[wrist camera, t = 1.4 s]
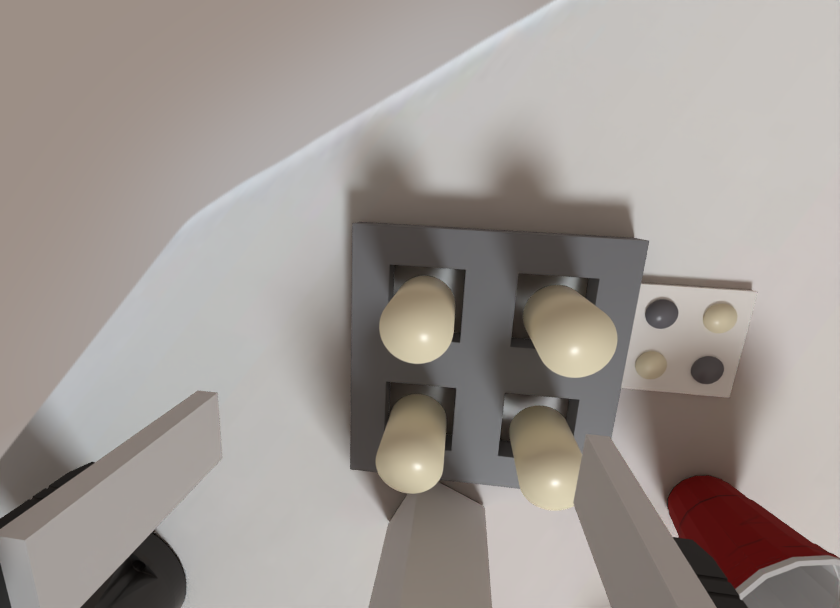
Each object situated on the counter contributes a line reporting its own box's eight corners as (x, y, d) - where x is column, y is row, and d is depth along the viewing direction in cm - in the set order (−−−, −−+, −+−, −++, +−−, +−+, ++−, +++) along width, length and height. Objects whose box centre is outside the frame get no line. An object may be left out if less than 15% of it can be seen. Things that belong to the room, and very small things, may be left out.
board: (357, 452, 39) (350, 469, 36) (360, 222, 33) (352, 223, 31) (590, 478, 37) (599, 497, 34) (634, 238, 31) (649, 240, 29)
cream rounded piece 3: (506, 454, 34) (515, 506, 28) (512, 402, 32) (523, 445, 27) (564, 460, 33) (585, 514, 27) (572, 408, 32) (596, 453, 26)
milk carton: (421, 471, 38) (382, 714, 20) (485, 505, 39) (505, 777, 20) (388, 522, 40) (325, 788, 22) (449, 555, 40) (438, 845, 22)
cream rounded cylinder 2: (389, 441, 35) (374, 489, 29) (391, 391, 33) (376, 430, 28) (444, 447, 34) (441, 497, 28) (448, 396, 33) (445, 437, 27)
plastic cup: (792, 513, 35) (952, 662, 24) (681, 568, 38) (777, 727, 26) (725, 425, 34) (860, 538, 23) (615, 487, 37) (686, 618, 25)
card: (614, 384, 34) (617, 388, 34) (633, 282, 32) (637, 284, 31) (724, 394, 34) (731, 399, 33) (752, 290, 31) (759, 292, 30)
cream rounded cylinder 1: (393, 332, 32) (378, 360, 26) (395, 273, 31) (380, 289, 25) (453, 337, 32) (450, 366, 26) (457, 277, 30) (456, 294, 25)
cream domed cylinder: (519, 342, 31) (532, 374, 25) (526, 282, 30) (541, 301, 24) (582, 347, 31) (610, 381, 25) (592, 287, 30) (623, 307, 24)
